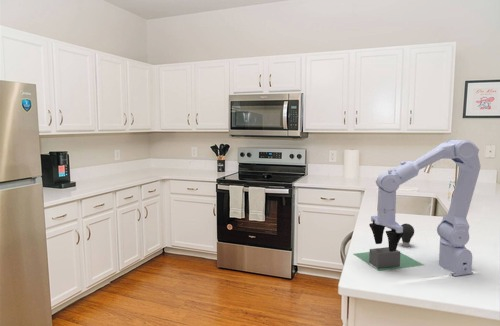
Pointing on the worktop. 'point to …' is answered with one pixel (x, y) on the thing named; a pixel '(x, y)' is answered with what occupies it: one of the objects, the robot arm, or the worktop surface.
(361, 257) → the header board
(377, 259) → the plug housing
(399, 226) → the robot arm
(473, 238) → the worktop surface
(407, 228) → the light bulb
